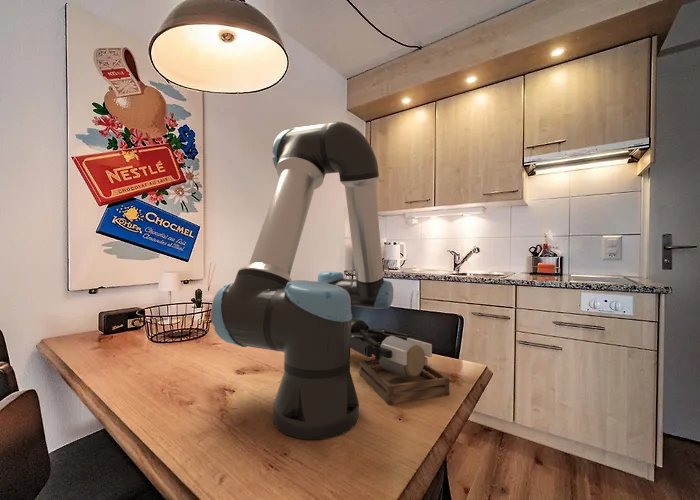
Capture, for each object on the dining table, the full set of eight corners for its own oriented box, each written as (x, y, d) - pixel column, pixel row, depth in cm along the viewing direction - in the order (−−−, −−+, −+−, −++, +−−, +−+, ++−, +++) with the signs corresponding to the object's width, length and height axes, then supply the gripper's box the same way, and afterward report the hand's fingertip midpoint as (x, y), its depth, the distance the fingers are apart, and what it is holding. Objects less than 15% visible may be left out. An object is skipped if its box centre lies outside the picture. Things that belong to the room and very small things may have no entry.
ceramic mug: (408, 385, 64) (404, 349, 63) (379, 374, 70) (375, 341, 70) (437, 366, 71) (434, 333, 70) (408, 357, 77) (405, 327, 76)
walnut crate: (388, 404, 60) (388, 386, 60) (359, 374, 74) (359, 360, 74) (449, 395, 64) (449, 378, 64) (410, 368, 79) (411, 355, 79)
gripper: (377, 340, 90) (446, 362, 72) (317, 353, 77) (383, 384, 59) (377, 314, 90) (447, 329, 72) (318, 322, 77) (384, 344, 59)
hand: (418, 354), depth 66 cm, fingers closed on ceramic mug, 8 cm apart
